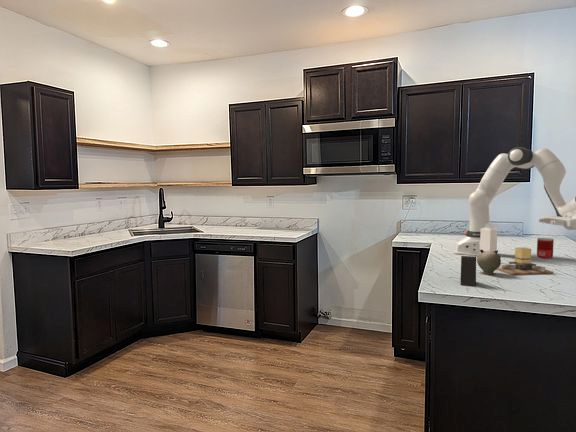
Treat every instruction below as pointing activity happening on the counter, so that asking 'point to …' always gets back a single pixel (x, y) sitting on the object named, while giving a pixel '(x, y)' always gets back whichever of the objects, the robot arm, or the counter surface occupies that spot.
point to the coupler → (522, 255)
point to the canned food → (545, 247)
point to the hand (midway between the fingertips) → (546, 221)
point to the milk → (488, 238)
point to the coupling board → (522, 269)
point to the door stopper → (468, 270)
